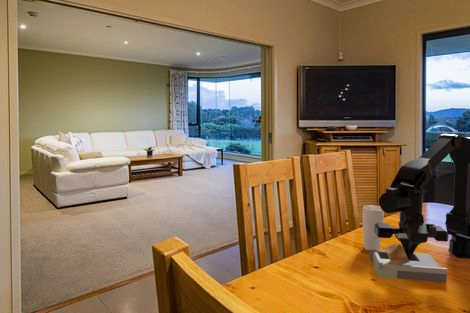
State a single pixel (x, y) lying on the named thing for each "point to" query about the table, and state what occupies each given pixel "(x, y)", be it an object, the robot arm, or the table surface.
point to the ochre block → (396, 254)
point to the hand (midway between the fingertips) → (408, 259)
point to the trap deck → (408, 267)
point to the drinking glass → (371, 226)
